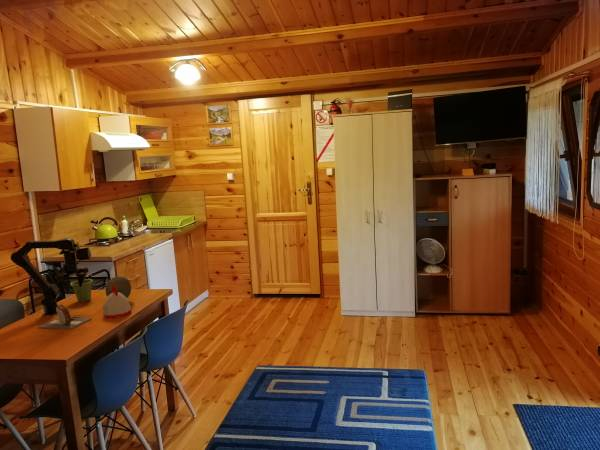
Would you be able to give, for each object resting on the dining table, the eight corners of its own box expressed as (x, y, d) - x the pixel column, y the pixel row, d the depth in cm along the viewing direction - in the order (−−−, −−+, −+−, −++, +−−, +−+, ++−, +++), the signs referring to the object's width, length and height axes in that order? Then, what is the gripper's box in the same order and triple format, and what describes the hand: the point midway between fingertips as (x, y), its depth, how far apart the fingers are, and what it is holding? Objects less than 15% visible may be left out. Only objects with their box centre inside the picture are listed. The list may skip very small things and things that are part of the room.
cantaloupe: (101, 305, 264) (97, 279, 261) (122, 297, 276) (119, 273, 273) (117, 308, 256) (114, 281, 254) (138, 300, 268) (135, 275, 266)
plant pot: (95, 295, 284) (92, 277, 282) (95, 301, 273) (92, 282, 271) (73, 299, 279) (70, 281, 278) (72, 304, 268) (70, 285, 267)
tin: (72, 324, 232) (70, 308, 231) (65, 326, 230) (63, 310, 229) (63, 318, 243) (60, 302, 242) (56, 320, 241) (54, 304, 240)
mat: (38, 327, 233) (38, 326, 233) (59, 318, 246) (59, 316, 246) (71, 329, 227) (71, 328, 227) (91, 319, 241) (91, 318, 241)
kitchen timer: (126, 307, 256) (123, 281, 254) (135, 313, 246) (131, 285, 243) (100, 314, 248) (96, 287, 246) (108, 320, 237) (104, 291, 235)
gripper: (70, 257, 264) (74, 284, 267) (44, 265, 246) (49, 294, 249) (87, 257, 261) (91, 284, 263) (62, 265, 243) (66, 294, 246)
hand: (74, 289), depth 255 cm, fingers open, 9 cm apart
